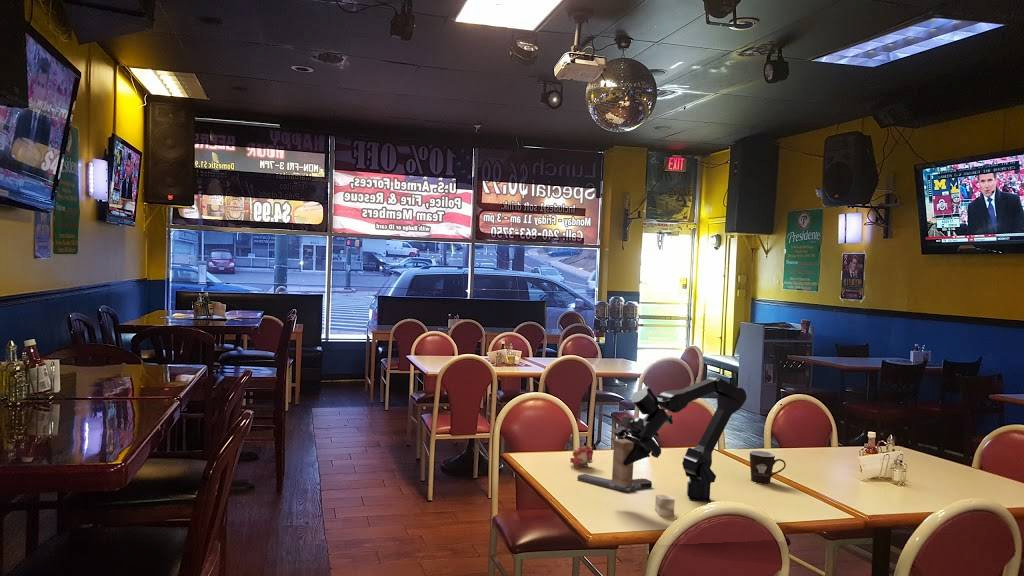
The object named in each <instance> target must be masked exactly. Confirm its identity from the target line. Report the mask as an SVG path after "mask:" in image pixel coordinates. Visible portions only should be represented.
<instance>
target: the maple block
mask: <svg viewBox="0 0 1024 576" xmlns="http://www.w3.org/2000/svg"><path fill="white" fill-rule="evenodd" d="M675 500H676V499H675V498H674V497H673V496H671V495H670V494H655V505H654V506H655V507H654V512H655V511H656V512H655V513H656V514H657V516H659V517H675Z"/></svg>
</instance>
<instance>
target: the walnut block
mask: <svg viewBox="0 0 1024 576" xmlns="http://www.w3.org/2000/svg"><path fill="white" fill-rule="evenodd" d="M633 447H634V442H631V441H629V440H626V439H618V438H617V439H613V455H612V473H611V474H612V476H611V480H612V482H613V483H615V484H617V485H619V486H621V487H622V486H632V480H633V479H634V477H633V476H634V462H633V463H631V464H629V465H626V466H625V465H624V464H623V463H624V461H625V459H626V458H627V457H628V455H629V454H630V452H631V451H632V450H633Z"/></svg>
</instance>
